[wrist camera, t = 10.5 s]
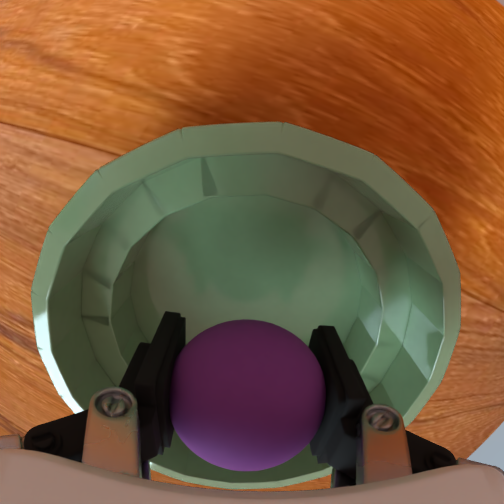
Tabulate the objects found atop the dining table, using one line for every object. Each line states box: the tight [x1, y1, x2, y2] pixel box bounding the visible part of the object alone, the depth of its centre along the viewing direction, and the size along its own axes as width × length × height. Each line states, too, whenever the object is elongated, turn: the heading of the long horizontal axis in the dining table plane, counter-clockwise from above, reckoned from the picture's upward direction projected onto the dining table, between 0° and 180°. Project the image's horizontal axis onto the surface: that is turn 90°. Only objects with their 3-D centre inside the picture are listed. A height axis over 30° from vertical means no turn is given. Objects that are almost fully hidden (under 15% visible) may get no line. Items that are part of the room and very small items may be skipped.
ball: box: [169, 319, 326, 471], centre depth 9 cm, size 5×5×5 cm
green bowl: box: [31, 122, 461, 489], centre depth 12 cm, size 16×16×6 cm
